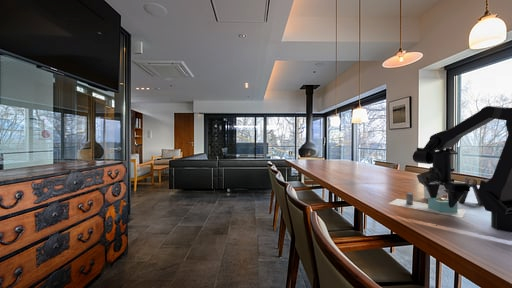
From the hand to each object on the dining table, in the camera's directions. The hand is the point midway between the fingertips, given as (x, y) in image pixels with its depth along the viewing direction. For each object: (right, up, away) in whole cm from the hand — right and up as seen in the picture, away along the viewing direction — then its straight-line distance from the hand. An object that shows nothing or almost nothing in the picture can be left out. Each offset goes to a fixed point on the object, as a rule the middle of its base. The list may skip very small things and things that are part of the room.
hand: (441, 204), depth 87 cm
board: (-3, -3, +4) cm, 6 cm away
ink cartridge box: (+11, -3, +16) cm, 20 cm away
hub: (0, -2, 0) cm, 2 cm away
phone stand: (+20, -3, +9) cm, 22 cm away
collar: (0, -2, 0) cm, 2 cm away
